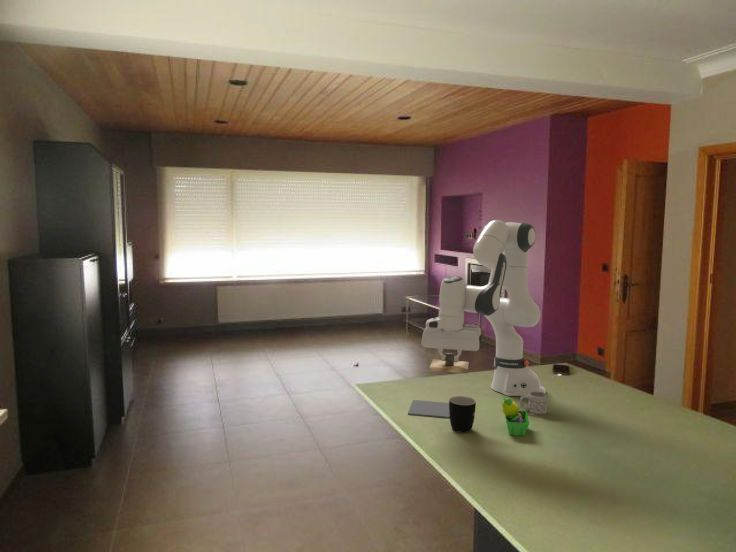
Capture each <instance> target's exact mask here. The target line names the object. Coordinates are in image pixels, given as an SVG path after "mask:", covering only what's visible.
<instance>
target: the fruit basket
mask: <svg viewBox="0 0 736 552" xmlns="http://www.w3.org/2000/svg"><path fill="white" fill-rule="evenodd" d="M501 402H502V403H501V405H502V412H503V415H504V416H505V423H506V426H507V427H506V428H507V430H508V435H509V436H511V435H512V436H521V437H525V436H526V433H527V430H528V427H529V426H530V419H529V414H528V412H527V411H525V410H520V405H519V404H517V403H516V402H514V401H513V400H512V399H511V398H510V397H504V398H503V400H502V401H501Z"/></svg>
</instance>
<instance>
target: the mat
mask: <svg viewBox="0 0 736 552" xmlns="http://www.w3.org/2000/svg"><path fill="white" fill-rule="evenodd" d="M407 415H410V416H419V417H421V416H422V417H423V416H424V417H430V418H431V417H433V418H443V419H450V415H449V402H445V401H444V402H443V401H442V402H441V401H430V400H420V399H417V400H416V399H412V402H411V404H410V407H409V409H408V411H407Z"/></svg>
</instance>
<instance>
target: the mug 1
mask: <svg viewBox="0 0 736 552" xmlns="http://www.w3.org/2000/svg"><path fill="white" fill-rule="evenodd" d="M448 403H449V422H450V428H451V429H452V430H453V431H455V432H457V433H469V432H470V431H471V430H472V428H473V425H474V423H475V416H476V407H477V405H476V403H477V402H476V399H474V398H472V397H468V396H462V395H461V396H460V395H459V396H452V397H450V398H449V399H448Z"/></svg>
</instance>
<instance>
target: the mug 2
mask: <svg viewBox="0 0 736 552" xmlns="http://www.w3.org/2000/svg"><path fill="white" fill-rule="evenodd" d="M519 397H520V398H519V408H521V409H524V410H527V411H528V412H529V413H531V414H534V415H546V414H547V410H548V394H547V393H546V394H545V393H543V392H529V395H526V396H519ZM524 399H527V400H528V402H527V403H528V405H523V401H524Z"/></svg>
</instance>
